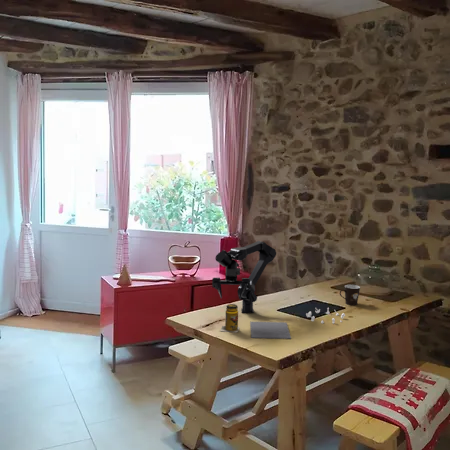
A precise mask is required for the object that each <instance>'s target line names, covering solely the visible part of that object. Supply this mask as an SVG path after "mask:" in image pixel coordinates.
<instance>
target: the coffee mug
mask: <svg viewBox="0 0 450 450" xmlns="http://www.w3.org/2000/svg"><path fill="white" fill-rule="evenodd" d="M360 290H361V287H360V286H359V285H356V284H346V285H344V289H340V291H339V295H340V297H342V298H343V299H344V301H345V305H347V306H357V305H358V301H359V296H360ZM342 292H344V296H343V295H342Z"/></svg>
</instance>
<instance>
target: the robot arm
mask: <svg viewBox="0 0 450 450" xmlns="http://www.w3.org/2000/svg"><path fill="white" fill-rule="evenodd" d="M256 252H258V261H257V263H256V264H255V266H254V268H253V270H252V271H251V273H250V274H249V277H248V278H247V277H242V278H241V280H238V276H240V275H241V268H240V264H239V263H238V262H237V261H243V260H245V259H246V258H247V256H248V255H251V254H254V253H256ZM276 256H277V251H276V249H275V248H273V247H272V246H270V245H269V244H267V243H266V242H265V241H260V240H257V241H255V242H253V243H250V244H248V245H245V246H243V247H242V246H241V247H232V248H231V249H230V250H229V251H227V250H225V249H222V250H221V251H220V252H218V253H217V254H216V255H215V261H216V262H217V263H218V264H220V265H221V266H222V267H225V273H224V274H225V276H224V277H225V278H224V279H225V280H224V279H223V280H222V279H221V277H212V279H211V280H212V281H211V283H212V284H211V285H212V288H214V289H215V290H217V292H218V294H219V297H220V299H222V298H223V294H222V285H228V286H232V285H233V286H234V285H235V286H238V287H237V288H238V289H237V296H238V299H239V300H241V301H242V302H241V305H242V307H241V309H240V310H241V314H242V313H243V314H244V313H247V314H254V313H255V311H254V303H255V302H257V300H258V296H257V295H256V285H257V282H258V281H259V280H260V277H261V276H262V274H263V273H264V270H265V268H266V267H267V265H268V264H269V263H271V262H273V260H274V259H275V258H276Z"/></svg>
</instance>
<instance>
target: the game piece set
mask: <svg viewBox="0 0 450 450" xmlns="http://www.w3.org/2000/svg"><path fill="white" fill-rule="evenodd" d="M314 308H315V313H316V314H319V313H320V312H321V309H318V308H317V307H314ZM326 309H327V311H326V312H325V314H327V315H329V314H331V313H330V312H331V311H329V309H330V308H329V307H327V308H326ZM334 312H335V313H336V314H335V316H339V315H340V314H339V313H338V312H337V311H336V310H334ZM305 315H306V317H307V318H311V322H315V316H314V315H313V316H312V311H309V312H308V313H307V312H306V313H305ZM344 317H346V314H345V312H344V313H342V314H341V315H340V318H341V319H342V320H341V319H339V321H340V323H343V319H344ZM335 320H336V319H335V317H332V319H331V321H332V324H335ZM320 323H321V324H324V323H325V321H324V320H323V319H322V320H321V321H320Z"/></svg>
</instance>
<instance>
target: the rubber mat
mask: <svg viewBox="0 0 450 450" xmlns="http://www.w3.org/2000/svg"><path fill="white" fill-rule="evenodd" d="M249 324H250V325H249V326H250V337H251V338H250V339H275V340H278V339H279V340H291V339H292V336H291V333H290V330H289V327H288V322H283V321H279V322H278V321H250V322H249Z"/></svg>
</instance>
